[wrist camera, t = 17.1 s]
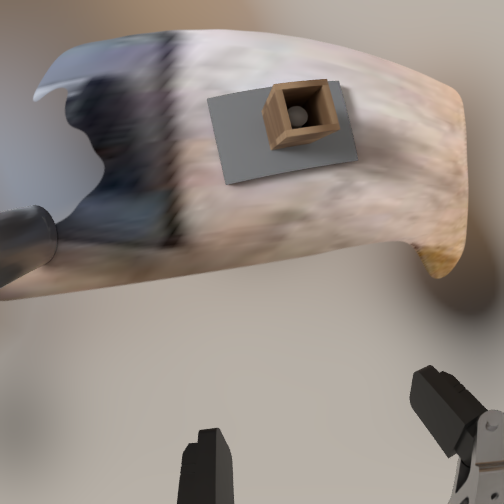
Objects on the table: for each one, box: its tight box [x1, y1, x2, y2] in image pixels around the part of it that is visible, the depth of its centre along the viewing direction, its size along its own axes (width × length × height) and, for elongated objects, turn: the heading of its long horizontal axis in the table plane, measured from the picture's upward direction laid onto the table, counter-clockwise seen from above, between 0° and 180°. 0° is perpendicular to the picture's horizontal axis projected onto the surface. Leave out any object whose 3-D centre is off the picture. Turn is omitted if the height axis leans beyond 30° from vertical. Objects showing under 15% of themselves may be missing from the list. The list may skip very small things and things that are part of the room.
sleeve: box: [261, 79, 340, 150], centre depth 27 cm, size 5×5×10 cm
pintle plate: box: [207, 81, 358, 185], centre depth 30 cm, size 17×11×8 cm, turn 102°
